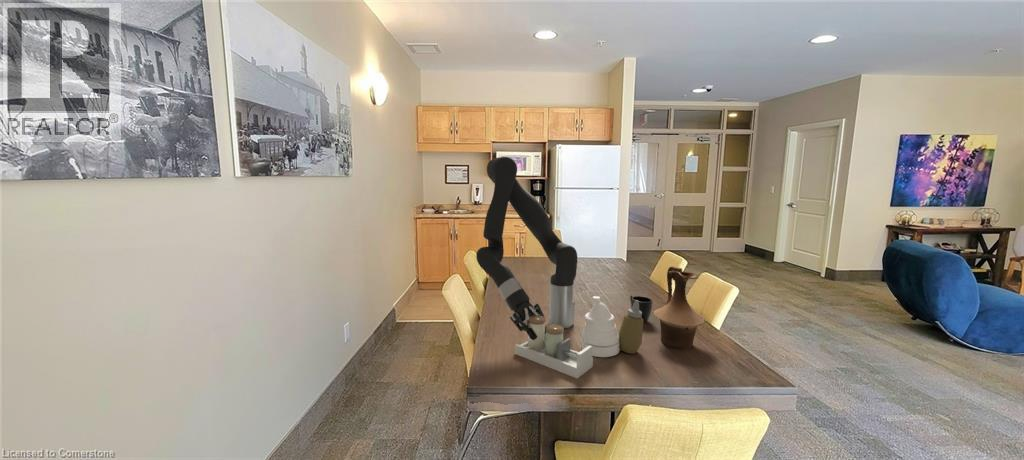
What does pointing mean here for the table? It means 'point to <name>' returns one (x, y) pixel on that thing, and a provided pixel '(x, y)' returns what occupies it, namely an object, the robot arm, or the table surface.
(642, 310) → the mug
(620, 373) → the table surface
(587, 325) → the honey pot
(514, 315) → the robot arm
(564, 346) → the pusher
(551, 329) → the sage jar
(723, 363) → the table surface
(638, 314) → the squeeze bottle
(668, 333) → the pitcher
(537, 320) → the cream jar
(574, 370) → the jar lane
